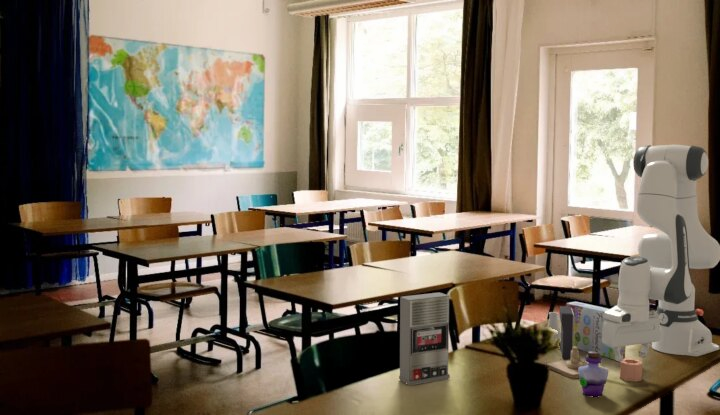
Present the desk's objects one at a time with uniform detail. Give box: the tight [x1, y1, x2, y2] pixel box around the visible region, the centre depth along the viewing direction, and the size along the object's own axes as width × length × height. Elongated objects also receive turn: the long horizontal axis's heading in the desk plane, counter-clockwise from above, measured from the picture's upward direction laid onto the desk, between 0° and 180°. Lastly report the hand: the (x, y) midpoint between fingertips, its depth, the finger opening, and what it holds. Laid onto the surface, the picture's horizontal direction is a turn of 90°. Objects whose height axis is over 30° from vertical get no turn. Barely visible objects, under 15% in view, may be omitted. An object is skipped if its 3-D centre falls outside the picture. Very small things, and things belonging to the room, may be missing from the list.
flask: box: [547, 311, 561, 344], centre depth 266 cm, size 7×7×10 cm
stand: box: [545, 347, 588, 380], centre depth 234 cm, size 12×12×7 cm
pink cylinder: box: [619, 357, 643, 382], centre depth 226 cm, size 6×6×5 cm
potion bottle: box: [578, 351, 609, 398], centre depth 212 cm, size 9×9×12 cm
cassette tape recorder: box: [398, 292, 451, 386], centre depth 223 cm, size 14×6×25 cm, turn 117°
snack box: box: [565, 301, 627, 361], centre depth 254 cm, size 21×6×15 cm, turn 35°
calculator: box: [559, 305, 575, 360], centre depth 250 cm, size 11×4×15 cm, turn 168°
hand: (630, 358), depth 225 cm, fingers open, 8 cm apart
